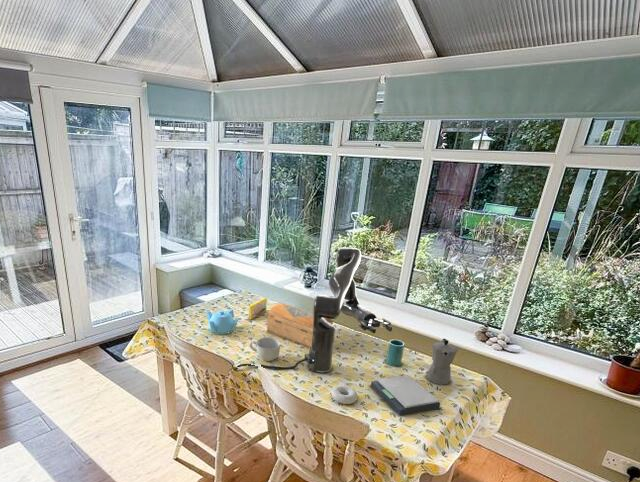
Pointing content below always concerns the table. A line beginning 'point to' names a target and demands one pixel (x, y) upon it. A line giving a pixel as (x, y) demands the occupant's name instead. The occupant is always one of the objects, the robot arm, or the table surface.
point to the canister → (395, 352)
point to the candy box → (257, 308)
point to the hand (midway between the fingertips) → (383, 330)
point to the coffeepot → (441, 362)
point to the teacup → (266, 348)
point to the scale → (405, 395)
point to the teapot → (222, 321)
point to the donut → (344, 399)
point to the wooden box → (292, 323)
